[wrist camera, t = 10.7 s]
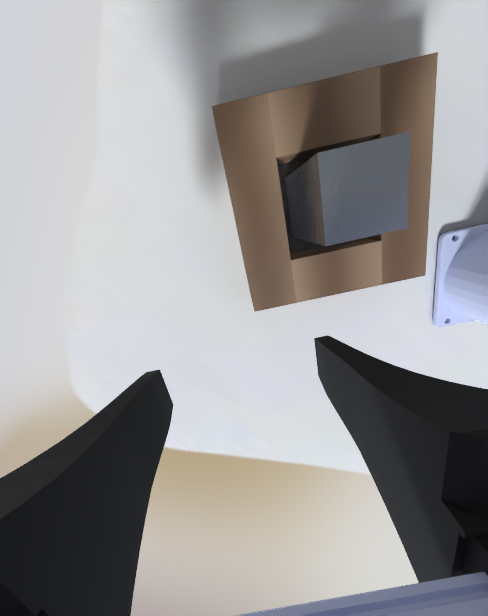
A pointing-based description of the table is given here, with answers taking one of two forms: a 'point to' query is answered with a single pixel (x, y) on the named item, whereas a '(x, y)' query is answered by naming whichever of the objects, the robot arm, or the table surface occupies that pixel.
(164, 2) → the table surface
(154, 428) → the robot arm
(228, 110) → the socket block
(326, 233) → the steel peg
